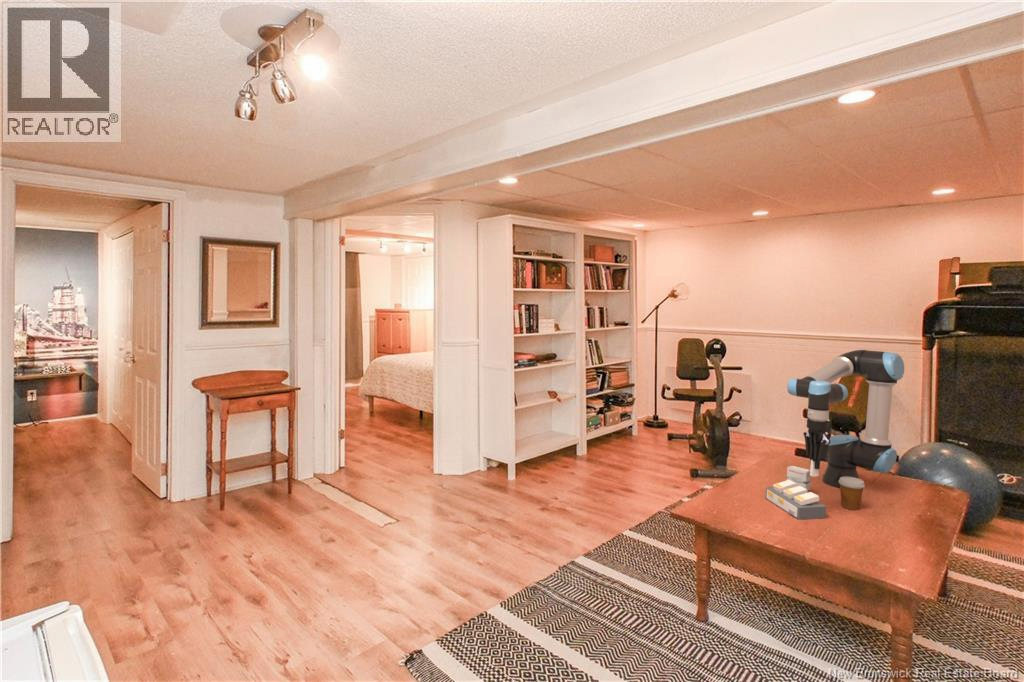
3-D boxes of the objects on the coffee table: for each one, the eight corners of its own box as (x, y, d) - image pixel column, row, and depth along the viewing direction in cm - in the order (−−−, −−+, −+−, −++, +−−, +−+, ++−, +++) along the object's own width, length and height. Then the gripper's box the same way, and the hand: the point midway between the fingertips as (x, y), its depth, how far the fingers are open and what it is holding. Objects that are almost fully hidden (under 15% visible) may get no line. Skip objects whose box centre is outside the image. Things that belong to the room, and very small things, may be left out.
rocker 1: (790, 483, 235) (789, 479, 235) (796, 487, 230) (795, 482, 230) (773, 488, 234) (772, 484, 234) (780, 492, 230) (779, 488, 229)
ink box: (809, 495, 240) (811, 469, 239) (805, 497, 237) (806, 472, 236) (790, 489, 247) (791, 464, 245) (785, 492, 243) (786, 467, 242)
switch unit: (790, 497, 237) (791, 485, 237) (825, 518, 216) (826, 504, 215) (764, 498, 236) (765, 486, 235) (797, 519, 214) (798, 506, 214)
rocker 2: (800, 490, 228) (799, 485, 228) (807, 494, 223) (807, 489, 223) (783, 494, 227) (782, 490, 227) (790, 498, 223) (789, 494, 222)
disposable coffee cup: (867, 512, 221) (869, 484, 220) (842, 510, 223) (843, 483, 222) (857, 503, 230) (859, 476, 229) (833, 501, 232) (835, 475, 231)
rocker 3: (811, 496, 221) (811, 491, 221) (819, 500, 217) (818, 495, 216) (794, 501, 220) (793, 496, 220) (801, 505, 216) (800, 500, 215)
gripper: (798, 415, 221) (795, 470, 224) (820, 423, 208) (816, 481, 211) (815, 415, 222) (811, 470, 225) (838, 422, 209) (834, 481, 212)
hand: (814, 475), depth 218 cm, fingers closed
